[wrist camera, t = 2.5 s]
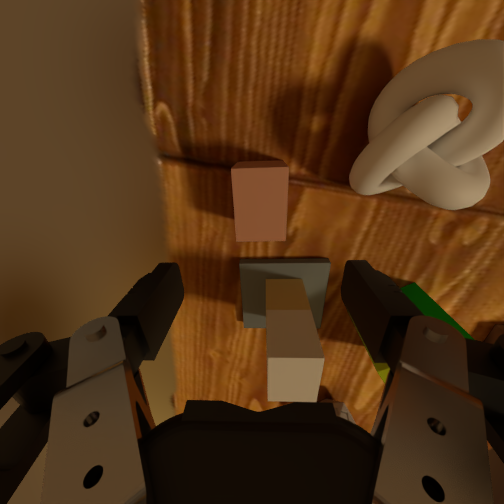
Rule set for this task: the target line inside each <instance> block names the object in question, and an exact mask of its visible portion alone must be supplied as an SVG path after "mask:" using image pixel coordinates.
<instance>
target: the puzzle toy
mask: <svg viewBox="0 0 504 504" xmlns="http://www.w3.org/2000/svg"><path fill="white" fill-rule="evenodd" d="M400 289H401V290H402V293H404V294H405V295H406V296H407V297H408V298H409V299H410V300H411V301H412V302H413V303H414V304H415V305H416V306H417V308H418V309H419V310H420V311H421V312H422V313H423V314H424V315H425V316H430V317H434V318H437V319H440V320H442V321H444V322H446V323H448V324H450V325H451V326H453V327H454V328H456V329H457V330H458V331H459V332H460V333H461V334H462V335H463V337H464V338H468V339H472V340H474V339H473V338H472V337H471V336H470V335H469V334H468V333H467V332H466V331H465V330H464V329H463V328H462V327H461V326H460V325H459V324H458V323H457V322H456V321H455V320H454V319H452V318H451V317H450V316H449V315H448V314H447V313H446V312H445V311H444V310H443V309H442V308H441V307H440V306H439V305H438V304H437V303H436V302H435V301H434V300H433V299H432V298H431V297H429V296H428V295H427V294H426V293H425V292H424V291H423V290H422V289H421V288H420V287H419V286H418V285H417V284H416V283H415V282H414V283H412V284H409V285H407V286H404V287H402V288H400ZM347 311H348V310H347ZM348 313H349V312H348ZM349 315H350V314H349ZM350 317H351V316H350ZM351 319H352V318H351ZM352 321H353V320H352ZM353 324H354V322H353ZM354 326H355V324H354ZM355 328H356V326H355ZM356 330H357V328H356ZM357 332H358V330H357ZM358 334H359V332H358ZM359 336H360V334H359ZM360 338H361V336H360ZM361 340H362V338H361ZM362 342H363V340H362ZM363 344H364V342H363ZM364 346H365V344H364ZM365 348H366V346H365ZM366 350H367V348H366ZM367 352H368V354H369V356H370V358H371V360H372V362H373V364H374V366H375V368H376V370H377V372H378V374H379V375H380V377H381V379H382V380H383V382H384V383H385V382H386V378H387V375H388V372H389V370H390V368H389V366H388V364H387V363H374V361H373V359H372V357H371V355H370V353H369V351H368V350H367Z"/></svg>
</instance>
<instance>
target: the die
mask: <svg viewBox="0 0 504 504" xmlns="http://www.w3.org/2000/svg"><path fill="white" fill-rule="evenodd" d="M321 402H331V403H333V405H334V409H335V413H336V416H339V417H342V418H344V419H346V420H349V421H351V422H353V423H354V424H355V422H354V420H353V417H352V415H351V414H350V412H349V411H348V409H347V407H346V406H345V404H344V403H343V402H339V401H335V400H330V399H324V400H322V401H321Z"/></svg>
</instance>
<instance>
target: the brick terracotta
mask: <svg viewBox="0 0 504 504" xmlns="http://www.w3.org/2000/svg"><path fill="white" fill-rule="evenodd" d="M231 176H232V189H233V203H234V216H235V229H236V242H242V241H286V222H287V199H288V176H289V166H288V165H287V164H286V163H285V162H284V161H283V160H273V161H244V162H237V163H236V164H235V165H234V166H233V167H232V168H231Z"/></svg>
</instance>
